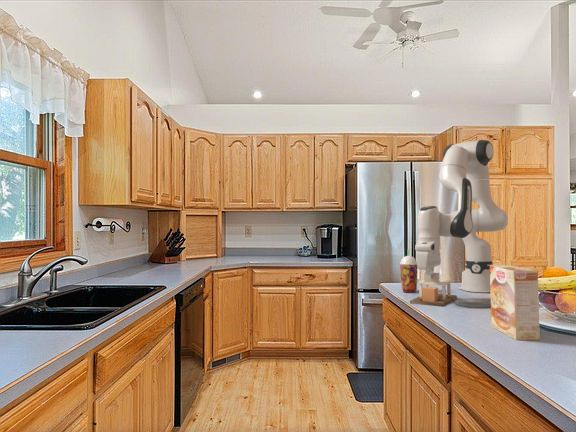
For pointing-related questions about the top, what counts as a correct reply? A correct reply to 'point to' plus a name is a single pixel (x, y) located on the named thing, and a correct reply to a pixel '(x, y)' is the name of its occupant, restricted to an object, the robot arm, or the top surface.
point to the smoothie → (408, 274)
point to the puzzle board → (439, 303)
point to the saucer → (473, 303)
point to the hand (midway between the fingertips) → (430, 278)
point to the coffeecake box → (515, 301)
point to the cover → (435, 281)
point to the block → (430, 294)
